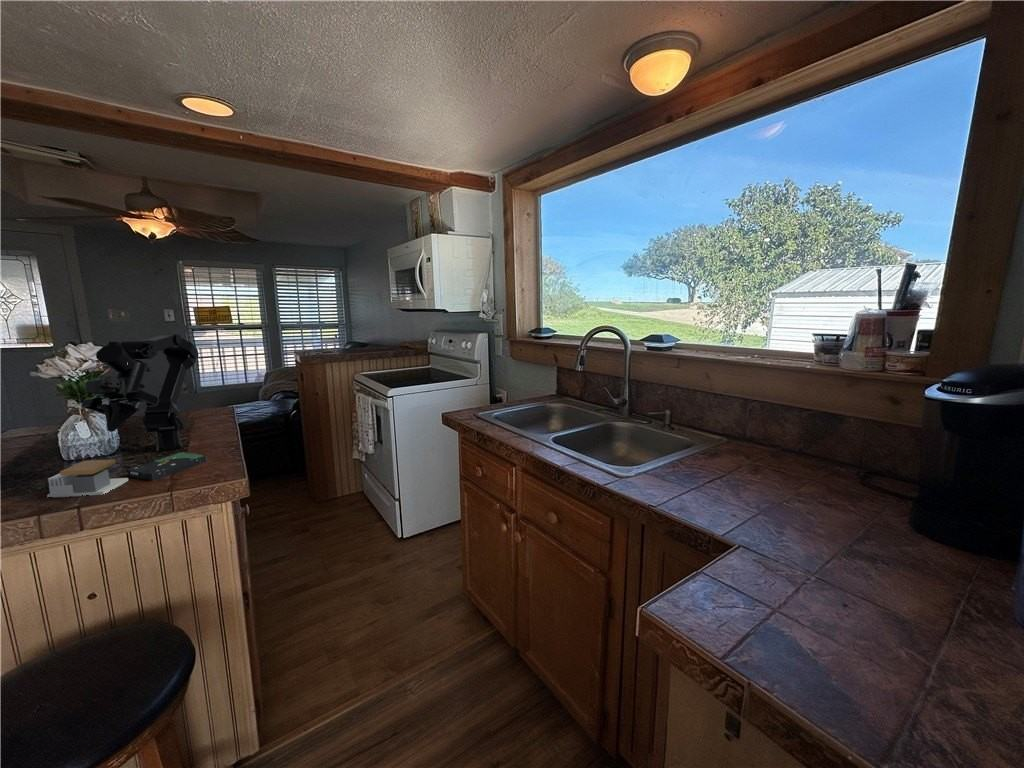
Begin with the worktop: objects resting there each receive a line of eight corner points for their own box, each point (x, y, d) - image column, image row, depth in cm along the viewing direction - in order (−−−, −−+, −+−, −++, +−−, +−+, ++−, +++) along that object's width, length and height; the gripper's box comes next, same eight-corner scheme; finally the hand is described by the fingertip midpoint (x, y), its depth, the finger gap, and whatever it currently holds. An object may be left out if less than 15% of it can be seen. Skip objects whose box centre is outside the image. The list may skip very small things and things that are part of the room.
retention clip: (88, 482, 108) (84, 460, 107) (119, 480, 109) (115, 459, 108) (64, 494, 101) (59, 471, 100) (97, 492, 102) (93, 469, 101)
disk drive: (154, 483, 111) (208, 462, 125) (153, 473, 111) (206, 454, 125) (127, 478, 114) (182, 459, 128) (125, 469, 114) (181, 450, 127)
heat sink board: (77, 483, 109) (73, 466, 109) (128, 480, 111) (125, 463, 110) (47, 497, 101) (43, 479, 100) (103, 494, 103) (99, 476, 102)
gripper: (70, 372, 112) (46, 426, 106) (127, 361, 110) (107, 417, 103) (113, 388, 122) (94, 438, 116) (167, 379, 120) (150, 430, 113)
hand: (110, 431), depth 112 cm, fingers closed
